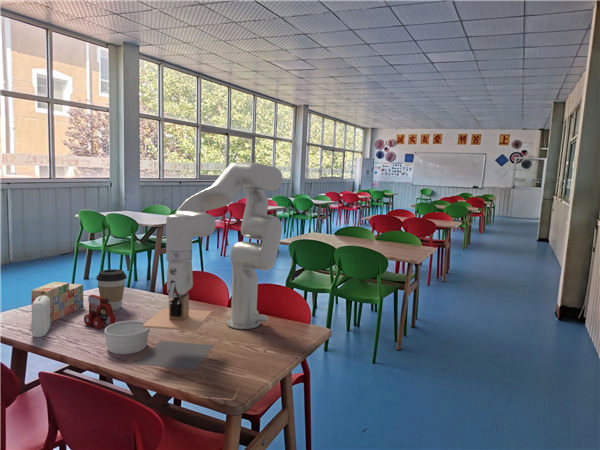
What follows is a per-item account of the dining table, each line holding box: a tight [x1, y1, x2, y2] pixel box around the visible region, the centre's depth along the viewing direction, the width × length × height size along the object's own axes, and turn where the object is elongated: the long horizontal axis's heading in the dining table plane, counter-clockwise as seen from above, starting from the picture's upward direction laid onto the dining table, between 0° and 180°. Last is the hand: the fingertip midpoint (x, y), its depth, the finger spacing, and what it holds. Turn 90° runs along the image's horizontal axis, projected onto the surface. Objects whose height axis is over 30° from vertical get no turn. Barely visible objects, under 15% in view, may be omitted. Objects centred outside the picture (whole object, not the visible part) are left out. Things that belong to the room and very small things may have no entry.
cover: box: [142, 294, 213, 332], centre depth 131 cm, size 16×16×8 cm
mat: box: [135, 340, 215, 370], centre depth 132 cm, size 18×18×1 cm
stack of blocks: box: [31, 281, 84, 324], centre depth 163 cm, size 21×6×12 cm, turn 174°
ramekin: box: [103, 320, 151, 355], centre depth 135 cm, size 13×13×7 cm
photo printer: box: [31, 296, 51, 338], centre depth 144 cm, size 10×4×12 cm, turn 20°
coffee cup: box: [95, 268, 128, 311], centre depth 173 cm, size 11×11×15 cm
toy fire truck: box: [83, 294, 117, 330], centre depth 154 cm, size 7×12×10 cm, turn 60°
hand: (179, 312), depth 131 cm, fingers closed on cover, 4 cm apart
